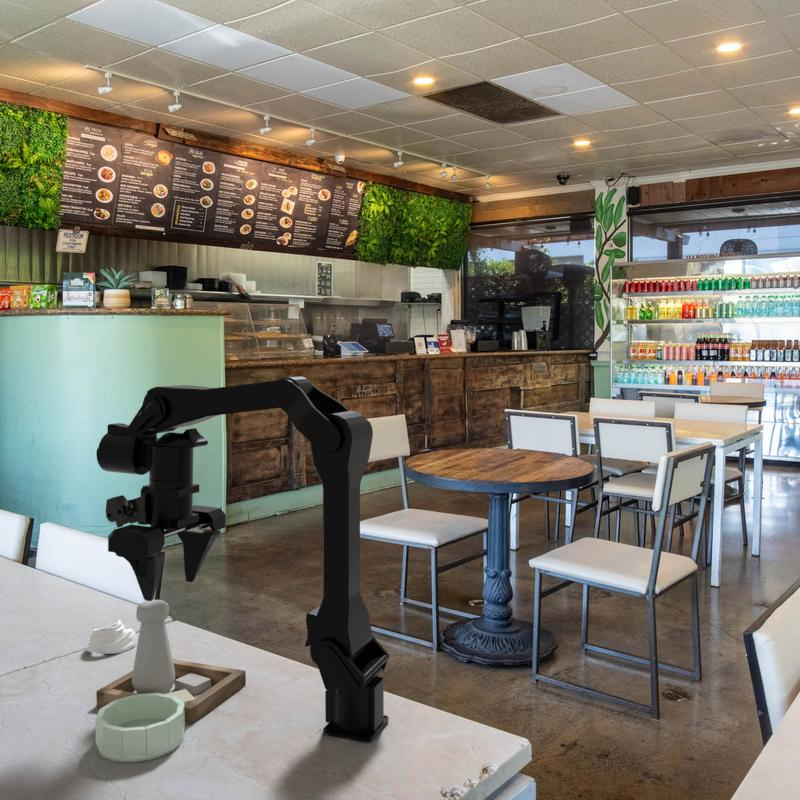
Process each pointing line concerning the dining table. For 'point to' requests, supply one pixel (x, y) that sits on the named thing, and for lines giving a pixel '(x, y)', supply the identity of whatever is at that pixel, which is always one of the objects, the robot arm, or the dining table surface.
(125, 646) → the whipped cream
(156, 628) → the salt shaker
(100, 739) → the bowl
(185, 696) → the beige rectangular block
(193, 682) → the off-white rectangular block
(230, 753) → the dining table surface
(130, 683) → the tray
